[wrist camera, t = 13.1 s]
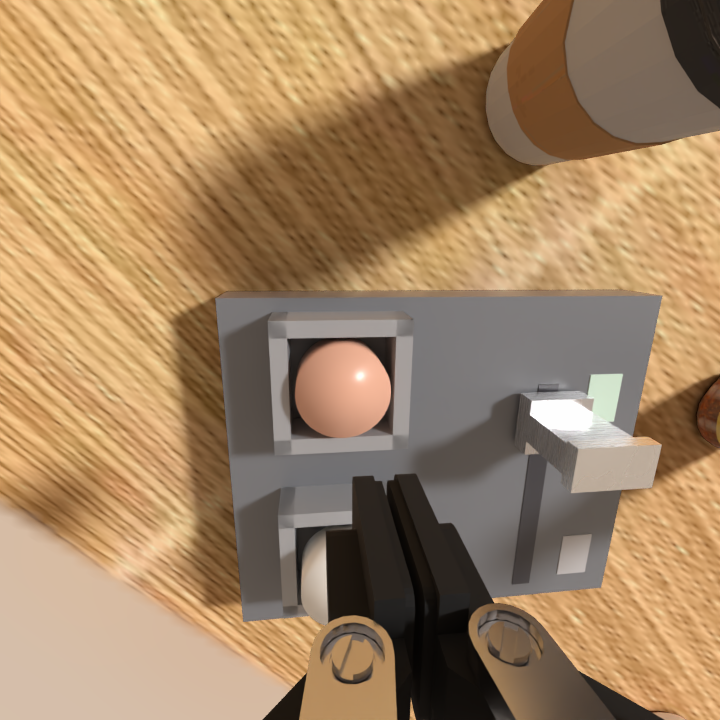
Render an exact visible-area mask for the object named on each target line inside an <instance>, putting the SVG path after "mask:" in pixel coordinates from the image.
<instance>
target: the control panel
mask: <svg viewBox="0 0 720 720" xmlns="http://www.w3.org/2000/svg"><path fill="white" fill-rule="evenodd" d="M661 299H662V296H661V295H654V294H647V293H641V292H634V291H628V290H434V291H227V292H225V293H223V294H222V295H220V296H218V297H217V298H215V301H216V312H217V324H218V335H219V347H220V358H221V370H222V381H223V393H224V405H225V416H226V428H227V439H228V451H229V462H230V474H231V485H232V497H233V509H234V520H235V532H236V543H237V555H238V566H239V578H240V589H241V601H242V613H243V622H246V621H257V620H267V619H278V618H293V617H303V616H309V615H308V614H307V612H306V611H305V609H304V607H303V604H302V600H301V577H302V554H303V550H304V547H305V546H306V544H307V542H308V541H309V539H310V538H311V537H312V536H313V535H314V534H316V533H317V532H318V531H320V530H321V529H323V528H325V527H328V526H331V525H344V524H352V478H353V476H372V475H373V476H374V479H375V481H382V483H383V486H384V490H385V493H386V491H387V481H388V480H394V475H395V474H413V473H415V474H416V475H417V477H418V479H419V481H420V483H421V485H422V487H423V490H424V492H425V494H426V496H427V498H428V501H429V503H430V505H431V507H432V509H433V512H434V514H435V516H436V518H437V520H438V523H439V524H440V523H452V524H453V525H454V526H455V528H456V529H457V531H458V533H459V535H460V537H461V539H462V541H463V543H464V545H465V547H466V549H467V551H468V553H469V555H470V557H471V559H472V561H473V563H474V565H475V567H476V568H477V570H478V572H479V574H480V576H481V578H482V580H483V582H484V584H485V586H486V588H487V590H488V592H489V594H490V596H491V598H497V597H507V596H517V595H528V594H538V593H549V592H559V591H570V590H580V589H590V588H601V585H602V580H603V575H604V571H605V566H606V561H607V556H608V552H609V547H610V542H611V537H612V533H613V528H614V523H615V518H616V513H617V509H618V504H619V499H620V494H621V490H612V491H597V492H582V493H570V492H569V491H568V490H567V489H566V488H565V487H564V486H563V485H562V484H561V477H562V474H561V473H560V472H559V471H558V470H557V469H556V468H555V467H554V466H552V465H551V464H550V463H549V462H548V461H547V460H546V459H545V458H544V457H543V456H541V455H540V454H528V455H524V454H523V453H522V452H521V451H520V450H519V449H518V448H517V447H516V446H515V445H514V443H515V435H516V426H517V418H518V410H519V402H520V394H521V393H534V392H563V391H581V392H583V393H585V394H587V395H589V396H590V397H592V398H594V402H593V408H592V413H594V414H596V415H597V416H599V417H601V418H602V419H604V420H606V421H607V422H609V423H611V424H612V425H614V426H616V427H617V428H619V429H621V430H622V431H624V432H626V433H627V434H629V435H631V436H632V437H633V433H634V428H635V423H636V418H637V414H638V409H639V404H640V399H641V395H642V390H643V385H644V380H645V375H646V371H647V366H648V361H649V356H650V352H651V347H652V342H653V337H654V333H655V328H656V323H657V318H658V314H659V309H660V304H661ZM348 337H352V338H356V339H358V340H360V341H362V342H364V343H365V344H367V345H368V346H369V347H370V348H371V349H372V350H373V351H374V352H375V354H376V355H377V357H378V359H379V360H380V362H381V364H382V365H383V367H384V369H385V370H386V372H387V374H388V377H389V380H390V385H391V398H390V403H389V406H388V408H387V411H386V412H385V414H384V416H383V417H382V419H381V420H380V421H379V422H378V423H377V424H376V425H375V426H374V427H373V428H371V429H370V430H368V431H367V432H365V433H363V434H360V435H357V436H354V437H349V438H334V437H329V436H326V435H323V434H321V433H319V432H317V431H315V430H314V429H312V428H311V427H310V426H309V425H308V424H307V423H306V422H305V421H304V420H303V418H302V417H301V415H300V413H299V411H298V409H297V405H296V401H295V387H296V376H297V369H298V365H299V363H300V360H301V358H302V357H303V355H304V354H305V352H306V351H307V350H308V349H309V348H310V347H311V346H312V345H314V344H315V343H317V342H319V341H321V340H323V339H325V338H348Z"/></svg>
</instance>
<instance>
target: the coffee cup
mask: <svg viewBox="0 0 720 720" xmlns="http://www.w3.org/2000/svg"><path fill="white" fill-rule="evenodd" d="M486 114H487V119H488V124H489V128H490V130H491V132H492V134H493V136H494V138H495V141H496V142H497V143H498V144H499V146H500V147H501V148H502V149H503V150H504V151H505V153H506V154H508V155H509V156H511V157H512V158H514V159H516V160H517V161H519V162H522V163H526V164H529V165H549V164H554V163H559V162H564V161H569V160H581V159H588V158H593V157H598V156H604V155H609V154H614V153H619V152H625V151H630V150H635V149H641V148H646V147H651V146H656V145H662V144H665V143H668V142H672V141H675V140H678V139H682V138H685V137H690V136H695V135H700V134H705V133H710V132H715V131H720V0H543V1H542V2H541V3H540V5H539V6H538V7H537V8H536V10H535V11H534V12H533V13H532V15H531V16H530V17H529V18H528V19H527V21H526V22H525V23H524V24H523V26H522V27H521V28H520V29H519V31H518V33H517V35H516V37H515V38H514V40H513V41H512V42H511V43H510V44H509V46H508V47H507V48H506V49H505V50H504V52H503V53H502V54H501V55H500V56H499V58H498V60H497V62H496V64H495V66H494V68H493V70H492V72H491V75H490V79H489V83H488V86H487V90H486Z"/></svg>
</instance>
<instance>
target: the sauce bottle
mask: <svg viewBox="0 0 720 720" xmlns="http://www.w3.org/2000/svg"><path fill="white" fill-rule="evenodd" d="M697 420H698V422H697V426H698V429H699V431H700V434H701V435H702V437H703V438H704V439H705V440H707V441H708V442H710V443H711V444H712V445H714V446H716V447H718V448H720V377H719V378H718V380H717V381H716V382H715V383H714V384H713V385H712V386H711V387H710V389H709V390H708V392H707V393H706V394H705V395H704V396H703V398H702V400H701V402H700V403H699V408H698V412H697Z"/></svg>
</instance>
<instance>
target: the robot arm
mask: <svg viewBox="0 0 720 720" xmlns="http://www.w3.org/2000/svg"><path fill="white" fill-rule="evenodd" d="M326 575H327V606H328V624H327V625H325V626H324V627H323V628H322V629H321V630H320V632H319V633H318V634H317V636H316V637H315V639H314V642H313V645H312V648H311V653H310V659H309V665H308V670H307V673H306V674H305V675H304V676H303V678H302V679H301V680H300V681H299V682H298V683H297V684H296V685H295V686H294V687H293V688H292V689H291V690H290V691H289V692H288V693H287V694H286V696H285V697H284V698H283V699H282V700H281V701H280V702H279V703H278V704H277V705H276V706H275V707H274V708H273V709H272V710H271V711H270V712H269V714H268V715H267V716H266V717H265V718H264V719H263V720H409V719H410V702H411V700H412V704H413V709H414V713H415V717H416V720H687V719H685V718H683V717H681V716H679V715H675V714H671V713H664V712H653V713H652V712H650V711H648V710H647V709H645V708H643V707H641V706H639V705H638V704H636V703H634V702H632V701H631V700H629V699H627V698H625V697H624V696H622V695H620V694H618V693H617V692H615V691H613V690H611V689H609V688H608V687H606V686H604V685H602V684H601V683H599V682H597V681H595V680H594V679H592V678H590V677H588V676H587V675H585V674H583V673H581V672H580V671H578V670H577V669H576V668H575V667H574V665H573V664H572V663H571V661H570V660H569V659H568V658H567V656H566V655H565V654H564V652H563V651H562V650H561V649H560V647H559V646H558V645H557V644H556V642H555V641H554V640H553V638H552V637H551V636H550V635H549V633H548V632H547V631H546V629H545V628H544V627H543V626H542V625H541V624H540V623H539V622H538V621H537V620H536V619H535V618H534V617H532V616H531V615H529V614H528V613H526V612H525V611H523V610H521V609H519V608H516V607H514V606H511V605H506V604H501V603H495V604H494V602H493V600H492V598H491V596H490V594H489V592H488V590H487V588H486V586H485V584H484V582H483V580H482V578H481V576H480V574H479V572H478V570H477V568H476V567H475V565H474V563H473V561H472V559H471V557H470V555H469V553H468V551H467V549H466V547H465V545H464V543H463V541H462V539H461V537H460V535H459V533H458V531H457V529H456V528H455V526H454V525H453V524H452V523H440V524H439V523H438V520H437V518H436V516H435V514H434V512H433V509H432V507H431V505H430V503H429V501H428V498H427V496H426V494H425V492H424V490H423V487H422V485H421V483H420V481H419V479H418V477H417V475H416V474H415V473H413V474H395V475H394V480H388V481H387V491H386V493H385V490H384V486H383V483H382V481H375V479H374V476H373V475H372V476H353V478H352V529H345V530H329V531H326Z"/></svg>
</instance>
